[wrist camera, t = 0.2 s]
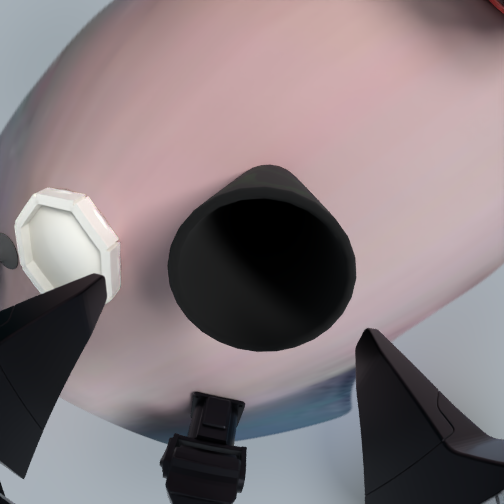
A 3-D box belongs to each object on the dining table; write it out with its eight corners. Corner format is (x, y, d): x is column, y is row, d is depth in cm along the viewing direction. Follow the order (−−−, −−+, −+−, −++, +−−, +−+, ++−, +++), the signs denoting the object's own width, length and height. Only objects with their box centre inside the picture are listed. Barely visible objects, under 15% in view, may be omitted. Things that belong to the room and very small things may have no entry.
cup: (284, 262, 25) (287, 373, 14) (202, 217, 23) (144, 305, 13) (337, 184, 21) (393, 255, 11) (249, 132, 20) (219, 148, 9)
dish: (123, 317, 29) (115, 329, 27) (35, 285, 29) (26, 294, 27) (122, 200, 23) (111, 207, 21) (23, 182, 23) (10, 187, 21)
